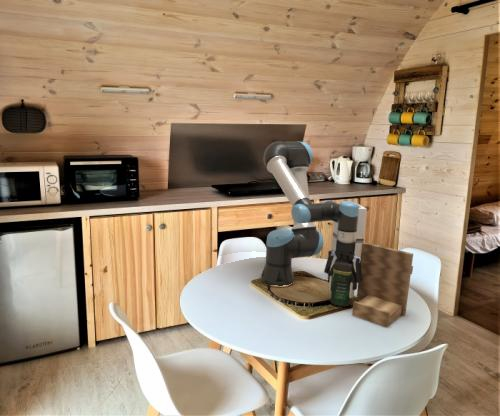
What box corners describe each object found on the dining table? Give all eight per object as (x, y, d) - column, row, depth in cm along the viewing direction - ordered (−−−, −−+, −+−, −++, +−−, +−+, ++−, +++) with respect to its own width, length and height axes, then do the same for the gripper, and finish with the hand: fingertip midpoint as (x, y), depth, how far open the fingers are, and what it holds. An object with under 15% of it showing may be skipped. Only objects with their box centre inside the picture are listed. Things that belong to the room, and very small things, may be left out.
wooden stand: (340, 311, 173) (346, 250, 167) (360, 298, 186) (366, 241, 180) (389, 328, 160) (397, 263, 155) (407, 313, 173) (414, 252, 168)
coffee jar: (348, 308, 175) (353, 264, 171) (329, 305, 177) (332, 261, 173) (351, 299, 184) (355, 257, 180) (332, 296, 186) (335, 254, 182)
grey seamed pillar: (359, 282, 203) (366, 208, 195) (337, 283, 201) (344, 208, 194) (350, 273, 214) (357, 203, 207) (329, 274, 212) (335, 203, 205)
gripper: (318, 236, 179) (313, 288, 184) (367, 248, 166) (361, 304, 170) (327, 233, 184) (323, 283, 189) (375, 244, 171) (369, 298, 176)
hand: (341, 293), depth 180 cm, fingers closed on coffee jar, 9 cm apart
